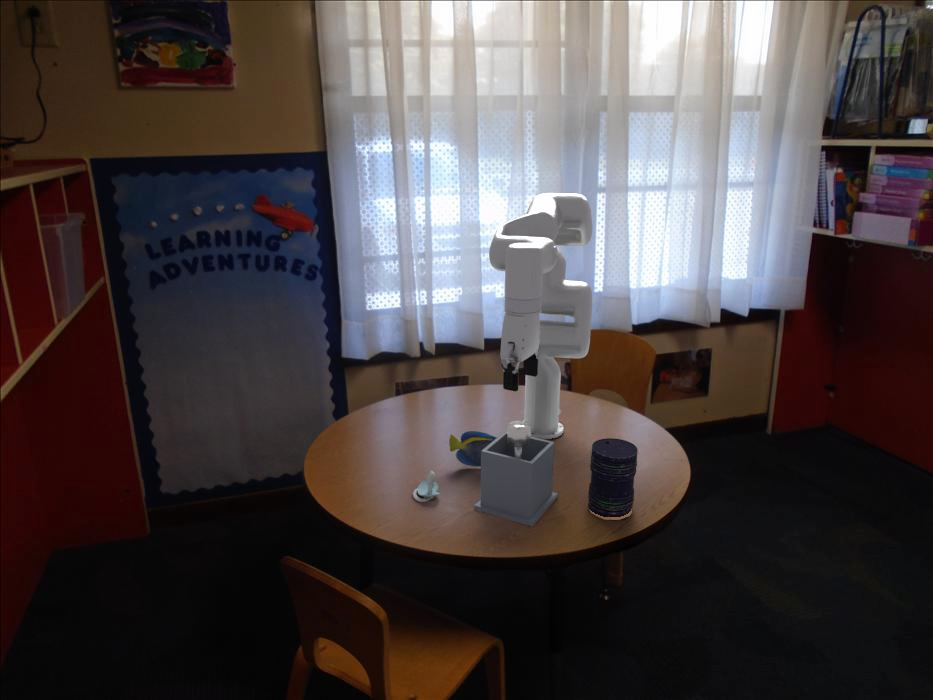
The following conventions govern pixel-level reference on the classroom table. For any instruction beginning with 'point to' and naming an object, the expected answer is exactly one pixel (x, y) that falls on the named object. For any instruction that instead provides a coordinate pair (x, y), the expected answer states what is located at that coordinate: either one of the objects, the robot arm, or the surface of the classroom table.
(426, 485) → the pacifier
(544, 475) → the press housing
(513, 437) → the plunger
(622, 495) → the dark blue cylinder
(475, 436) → the tropical fish figurine
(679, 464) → the classroom table surface
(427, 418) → the classroom table surface
